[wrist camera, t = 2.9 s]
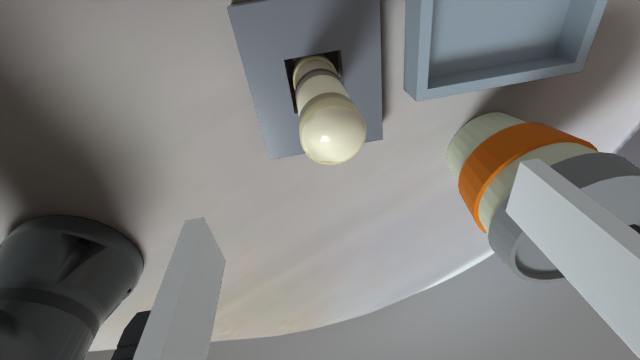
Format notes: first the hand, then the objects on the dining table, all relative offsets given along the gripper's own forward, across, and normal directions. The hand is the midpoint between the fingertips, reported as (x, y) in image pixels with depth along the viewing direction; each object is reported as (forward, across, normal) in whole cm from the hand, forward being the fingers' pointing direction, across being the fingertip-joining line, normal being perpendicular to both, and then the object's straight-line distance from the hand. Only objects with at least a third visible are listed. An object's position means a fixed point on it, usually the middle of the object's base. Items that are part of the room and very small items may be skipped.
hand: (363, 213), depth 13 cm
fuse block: (+20, 0, 0) cm, 20 cm away
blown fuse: (+20, 0, 0) cm, 20 cm away
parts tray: (+20, -17, -4) cm, 27 cm away
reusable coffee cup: (+21, -19, +12) cm, 30 cm away
